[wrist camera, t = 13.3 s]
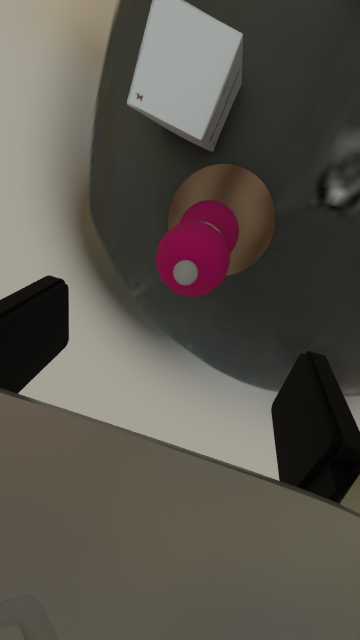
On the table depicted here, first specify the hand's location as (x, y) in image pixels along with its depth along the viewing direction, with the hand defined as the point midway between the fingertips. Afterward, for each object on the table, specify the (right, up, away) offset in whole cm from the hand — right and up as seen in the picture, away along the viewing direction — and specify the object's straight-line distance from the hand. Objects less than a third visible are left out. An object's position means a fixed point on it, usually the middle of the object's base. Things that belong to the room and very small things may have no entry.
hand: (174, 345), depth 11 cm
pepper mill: (+4, +13, +25) cm, 29 cm away
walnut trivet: (+6, +15, +27) cm, 31 cm away
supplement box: (+3, +27, +21) cm, 34 cm away
